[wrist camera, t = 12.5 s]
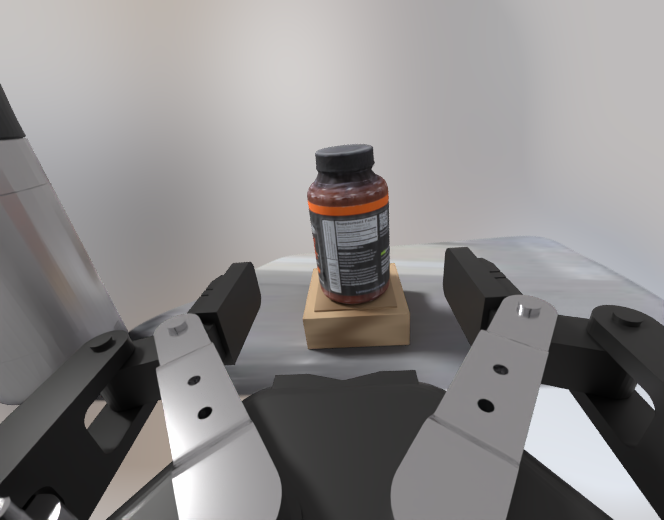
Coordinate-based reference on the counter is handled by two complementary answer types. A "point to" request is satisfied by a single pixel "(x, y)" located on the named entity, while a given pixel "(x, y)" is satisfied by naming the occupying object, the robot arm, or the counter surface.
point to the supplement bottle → (350, 224)
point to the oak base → (357, 318)
